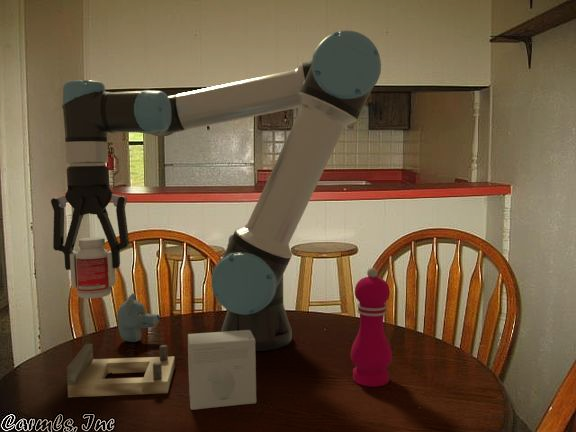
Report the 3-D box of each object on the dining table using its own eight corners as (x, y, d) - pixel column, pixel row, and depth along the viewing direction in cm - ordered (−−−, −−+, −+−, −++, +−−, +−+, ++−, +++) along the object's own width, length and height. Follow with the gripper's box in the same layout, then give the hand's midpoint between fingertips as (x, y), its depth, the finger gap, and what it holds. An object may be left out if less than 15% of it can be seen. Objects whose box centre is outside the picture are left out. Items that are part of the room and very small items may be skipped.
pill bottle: (115, 296, 106) (112, 238, 105) (81, 300, 103) (78, 241, 102) (106, 290, 112) (103, 235, 111) (74, 294, 108) (71, 238, 107)
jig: (174, 366, 104) (174, 340, 104) (167, 393, 92) (167, 363, 92) (86, 370, 103) (85, 343, 102) (68, 397, 91) (66, 367, 90)
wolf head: (159, 344, 117) (158, 298, 116) (115, 347, 115) (114, 299, 115) (161, 335, 123) (160, 291, 122) (120, 337, 122) (118, 292, 121)
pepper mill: (394, 375, 100) (396, 265, 98) (388, 390, 93) (390, 273, 92) (355, 370, 103) (356, 263, 101) (346, 385, 96) (347, 270, 94)
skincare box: (250, 388, 95) (250, 327, 94) (256, 404, 88) (256, 339, 87) (188, 393, 92) (187, 332, 91) (190, 410, 86) (188, 344, 85)
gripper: (142, 164, 110) (147, 279, 112) (41, 166, 108) (48, 283, 110) (136, 164, 102) (141, 287, 104) (27, 166, 100) (35, 292, 102)
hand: (94, 285), depth 107 cm, fingers closed on pill bottle, 6 cm apart
